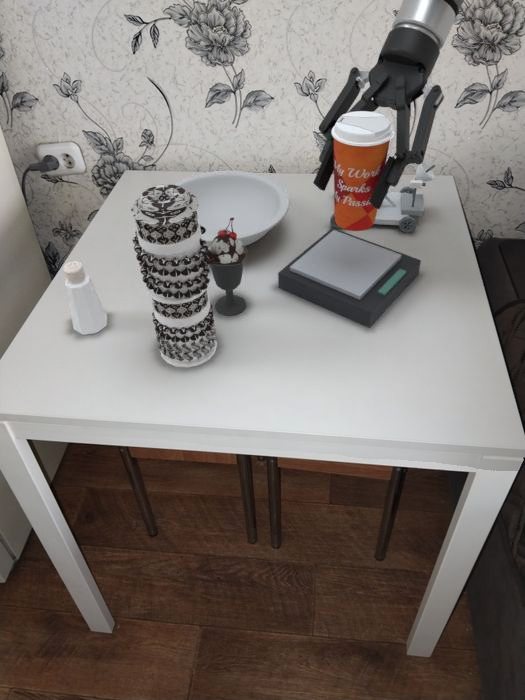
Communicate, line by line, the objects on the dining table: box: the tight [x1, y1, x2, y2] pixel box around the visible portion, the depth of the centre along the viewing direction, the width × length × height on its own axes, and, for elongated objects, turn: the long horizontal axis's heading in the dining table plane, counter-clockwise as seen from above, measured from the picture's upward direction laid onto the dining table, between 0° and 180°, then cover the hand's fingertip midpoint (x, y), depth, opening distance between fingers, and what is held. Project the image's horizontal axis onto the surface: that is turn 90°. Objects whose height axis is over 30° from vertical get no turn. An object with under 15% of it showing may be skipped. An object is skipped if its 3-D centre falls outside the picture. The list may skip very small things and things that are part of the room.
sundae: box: [206, 218, 249, 316], centre depth 88 cm, size 7×7×15 cm
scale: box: [277, 227, 422, 328], centre depth 96 cm, size 17×16×4 cm
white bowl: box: [171, 169, 290, 248], centre depth 106 cm, size 24×24×7 cm
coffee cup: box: [331, 111, 396, 232], centre depth 83 cm, size 8×8×15 cm
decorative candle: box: [130, 183, 218, 368], centre depth 78 cm, size 9×9×25 cm
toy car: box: [329, 161, 436, 234], centre depth 108 cm, size 18×10×12 cm
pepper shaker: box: [62, 260, 108, 336], centre depth 88 cm, size 5×5×11 cm
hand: (345, 195), depth 83 cm, fingers closed on coffee cup, 8 cm apart
